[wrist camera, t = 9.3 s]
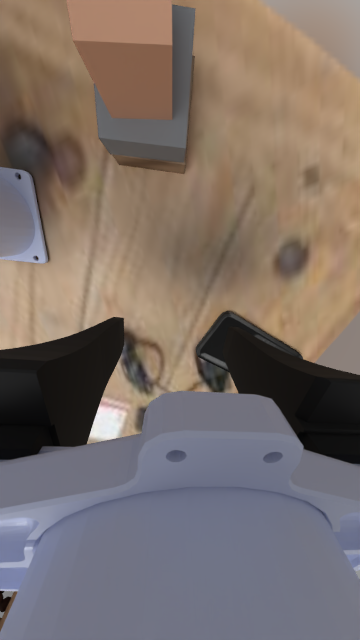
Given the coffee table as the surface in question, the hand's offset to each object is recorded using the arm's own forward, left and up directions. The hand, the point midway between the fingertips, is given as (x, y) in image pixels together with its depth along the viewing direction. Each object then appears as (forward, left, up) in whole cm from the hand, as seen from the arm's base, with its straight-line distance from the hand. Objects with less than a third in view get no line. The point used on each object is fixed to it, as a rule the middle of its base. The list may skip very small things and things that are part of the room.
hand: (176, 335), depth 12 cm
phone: (+12, -8, -11) cm, 18 cm away
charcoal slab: (-4, +15, -8) cm, 17 cm away
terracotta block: (-4, +15, -6) cm, 16 cm away
